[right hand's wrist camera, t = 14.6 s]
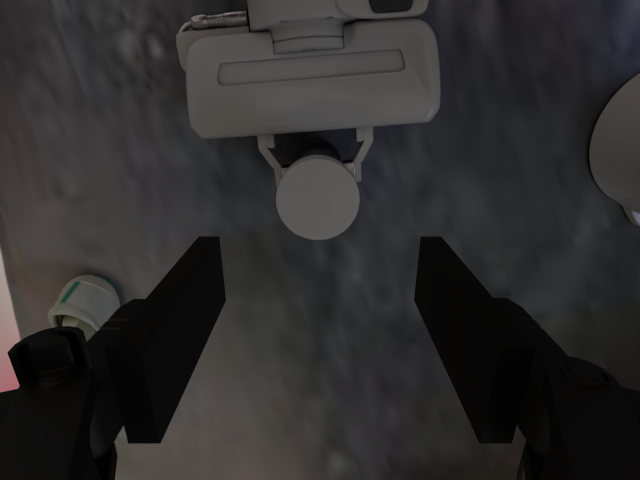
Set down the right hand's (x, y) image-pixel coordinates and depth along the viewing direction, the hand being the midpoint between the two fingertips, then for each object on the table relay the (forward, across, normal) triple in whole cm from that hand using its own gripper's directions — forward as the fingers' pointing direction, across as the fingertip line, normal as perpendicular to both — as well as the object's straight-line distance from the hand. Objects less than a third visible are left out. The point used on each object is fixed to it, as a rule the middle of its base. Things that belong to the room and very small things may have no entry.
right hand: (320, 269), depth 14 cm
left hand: (+20, 0, -1) cm, 20 cm away
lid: (+11, 0, 0) cm, 11 cm away
